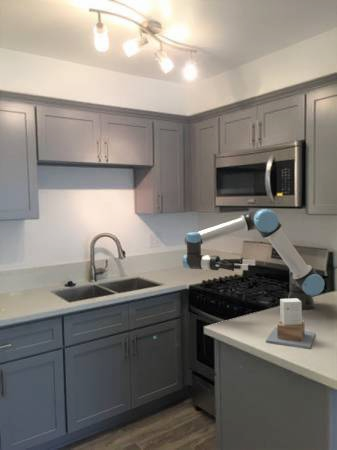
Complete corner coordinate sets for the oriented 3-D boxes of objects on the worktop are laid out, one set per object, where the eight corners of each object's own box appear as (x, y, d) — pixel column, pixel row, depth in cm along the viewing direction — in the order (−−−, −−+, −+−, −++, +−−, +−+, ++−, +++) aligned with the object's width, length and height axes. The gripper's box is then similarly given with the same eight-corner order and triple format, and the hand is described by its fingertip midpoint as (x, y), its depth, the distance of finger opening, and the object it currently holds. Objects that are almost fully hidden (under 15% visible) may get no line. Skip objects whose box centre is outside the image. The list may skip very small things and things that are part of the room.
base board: (275, 329, 181) (275, 327, 181) (315, 334, 173) (315, 332, 172) (266, 342, 165) (266, 340, 165) (309, 348, 157) (309, 346, 157)
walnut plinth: (281, 331, 175) (281, 318, 175) (304, 334, 171) (304, 321, 170) (277, 338, 167) (277, 325, 166) (301, 341, 162) (301, 328, 162)
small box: (297, 320, 171) (297, 298, 170) (302, 325, 165) (302, 301, 165) (279, 321, 171) (279, 298, 170) (283, 325, 165) (283, 301, 165)
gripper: (219, 265, 208) (258, 268, 198) (202, 274, 186) (244, 277, 176) (219, 252, 208) (257, 253, 198) (201, 259, 186) (244, 261, 176)
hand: (251, 265), depth 187 cm, fingers open, 13 cm apart
